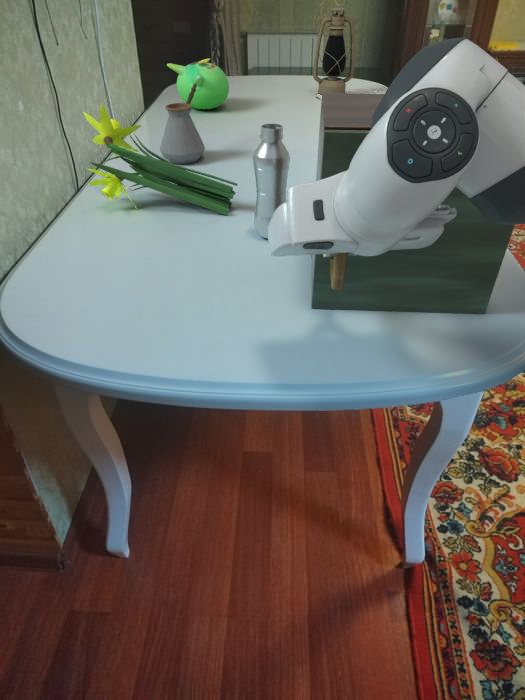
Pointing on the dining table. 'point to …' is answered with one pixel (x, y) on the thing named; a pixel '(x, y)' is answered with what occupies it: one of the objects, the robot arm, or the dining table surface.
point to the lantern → (334, 52)
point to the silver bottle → (270, 175)
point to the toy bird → (202, 84)
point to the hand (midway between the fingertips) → (339, 250)
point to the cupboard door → (412, 258)
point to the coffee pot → (181, 134)
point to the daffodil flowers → (154, 170)
